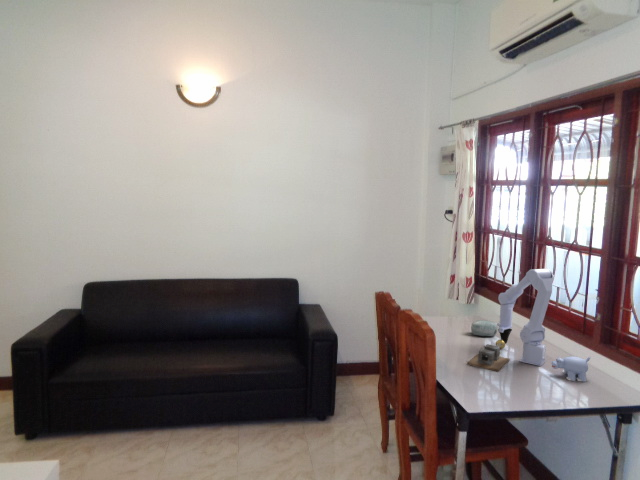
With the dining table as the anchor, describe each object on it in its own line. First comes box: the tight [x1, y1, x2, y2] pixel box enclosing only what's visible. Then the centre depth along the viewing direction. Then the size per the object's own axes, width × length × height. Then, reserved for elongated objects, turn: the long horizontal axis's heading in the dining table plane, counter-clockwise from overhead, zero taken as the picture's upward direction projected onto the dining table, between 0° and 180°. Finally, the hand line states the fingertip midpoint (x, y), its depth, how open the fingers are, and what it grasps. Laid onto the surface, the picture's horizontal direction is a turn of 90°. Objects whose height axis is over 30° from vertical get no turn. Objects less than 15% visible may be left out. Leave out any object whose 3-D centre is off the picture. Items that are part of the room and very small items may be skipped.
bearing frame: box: [466, 343, 511, 373], centre depth 229 cm, size 14×17×6 cm
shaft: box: [484, 339, 506, 359], centre depth 234 cm, size 4×22×4 cm, turn 144°
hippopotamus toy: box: [551, 355, 591, 383], centre depth 214 cm, size 11×15×10 cm
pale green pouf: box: [470, 319, 498, 337], centre depth 269 cm, size 14×10×10 cm
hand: (504, 343), depth 248 cm, fingers closed
